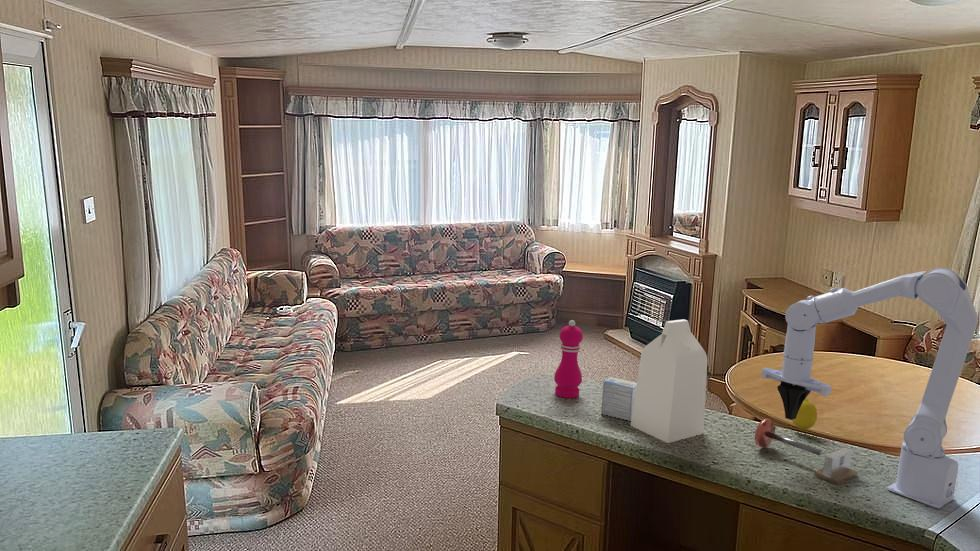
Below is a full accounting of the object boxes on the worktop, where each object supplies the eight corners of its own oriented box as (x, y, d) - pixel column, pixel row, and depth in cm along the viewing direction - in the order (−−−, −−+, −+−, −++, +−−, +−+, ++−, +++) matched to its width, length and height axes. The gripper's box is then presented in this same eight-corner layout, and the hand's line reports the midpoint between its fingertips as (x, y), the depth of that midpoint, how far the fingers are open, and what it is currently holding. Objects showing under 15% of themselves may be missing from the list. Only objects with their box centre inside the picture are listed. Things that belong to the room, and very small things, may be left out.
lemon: (817, 436, 170) (821, 403, 168) (792, 433, 171) (796, 401, 169) (811, 428, 175) (815, 396, 174) (787, 425, 176) (791, 393, 175)
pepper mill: (552, 397, 188) (557, 322, 184) (554, 388, 195) (559, 316, 191) (580, 400, 186) (585, 324, 183) (581, 391, 193) (586, 318, 190)
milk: (665, 417, 177) (675, 313, 173) (703, 433, 168) (714, 324, 164) (630, 425, 171) (639, 317, 166) (667, 443, 161) (678, 329, 157)
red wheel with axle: (825, 463, 154) (829, 435, 153) (810, 470, 150) (814, 441, 149) (764, 441, 164) (767, 414, 163) (748, 447, 161) (751, 419, 159)
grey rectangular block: (637, 417, 177) (640, 383, 175) (630, 422, 173) (633, 387, 171) (607, 409, 181) (610, 376, 179) (600, 414, 177) (602, 380, 175)
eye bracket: (857, 475, 149) (860, 452, 149) (838, 485, 144) (841, 461, 144) (833, 466, 153) (836, 444, 152) (813, 475, 148) (816, 452, 147)
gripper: (841, 362, 150) (833, 425, 153) (776, 346, 161) (769, 404, 164) (824, 367, 146) (816, 432, 148) (758, 350, 157) (752, 410, 159)
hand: (790, 418), depth 156 cm, fingers closed
